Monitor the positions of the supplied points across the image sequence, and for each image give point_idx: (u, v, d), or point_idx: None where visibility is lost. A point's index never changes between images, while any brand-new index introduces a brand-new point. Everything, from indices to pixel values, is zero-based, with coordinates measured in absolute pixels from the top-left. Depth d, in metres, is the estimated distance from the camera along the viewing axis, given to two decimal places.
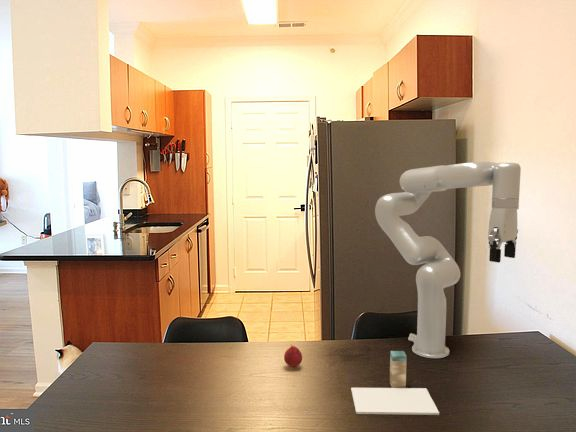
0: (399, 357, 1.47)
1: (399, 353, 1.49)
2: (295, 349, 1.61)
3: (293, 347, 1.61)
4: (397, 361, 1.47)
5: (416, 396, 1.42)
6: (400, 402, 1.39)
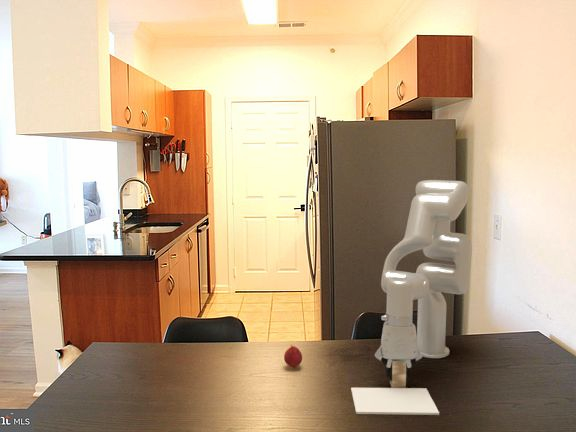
0: None
1: None
2: (295, 349, 1.61)
3: (293, 347, 1.61)
4: (397, 361, 1.47)
5: (416, 396, 1.42)
6: (400, 402, 1.39)
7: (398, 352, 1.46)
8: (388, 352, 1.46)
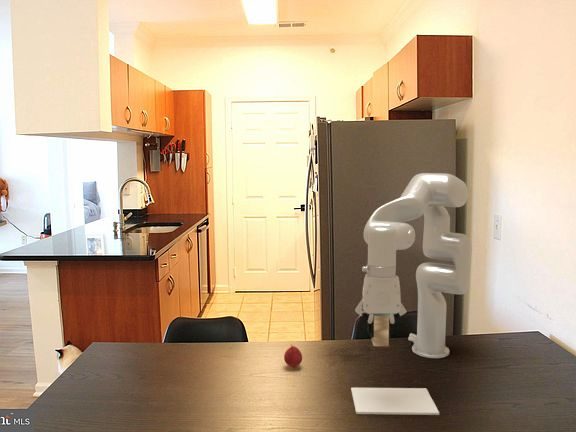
0: None
1: None
2: (295, 349, 1.61)
3: (293, 347, 1.61)
4: (379, 316, 1.35)
5: (416, 396, 1.42)
6: (400, 402, 1.39)
7: (380, 306, 1.34)
8: (369, 306, 1.34)
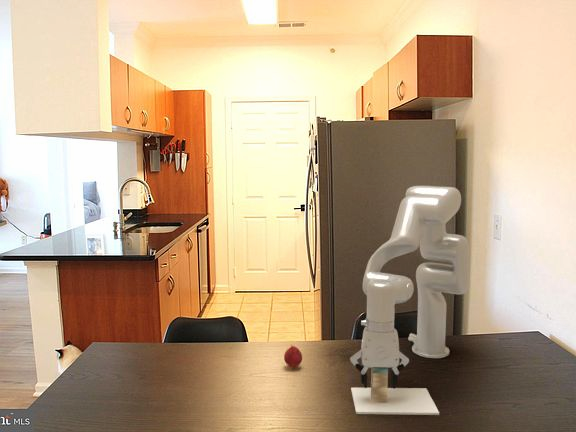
0: (380, 369, 1.37)
1: None
2: (295, 349, 1.61)
3: (293, 347, 1.61)
4: (378, 373, 1.37)
5: (416, 396, 1.42)
6: (400, 402, 1.39)
7: (379, 360, 1.36)
8: (368, 360, 1.36)
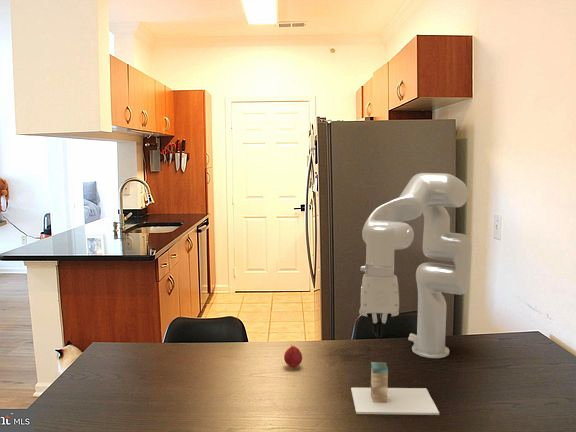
0: (380, 369, 1.37)
1: (381, 365, 1.39)
2: (295, 349, 1.61)
3: (293, 347, 1.61)
4: (378, 373, 1.37)
5: (416, 396, 1.42)
6: (400, 402, 1.39)
7: (378, 305, 1.34)
8: (367, 305, 1.34)
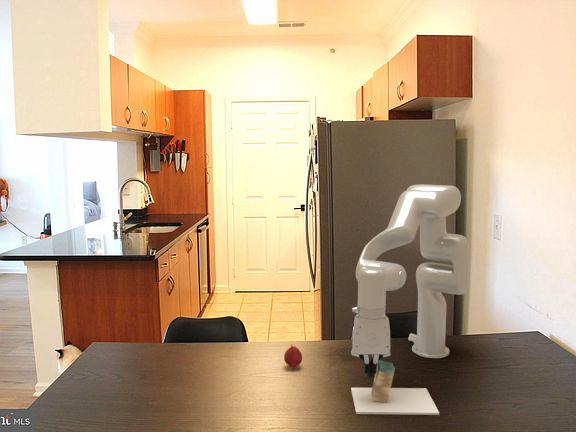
0: (387, 368, 1.37)
1: (388, 364, 1.39)
2: (295, 349, 1.61)
3: (293, 347, 1.61)
4: (384, 372, 1.37)
5: (416, 396, 1.42)
6: (400, 402, 1.39)
7: (370, 347, 1.36)
8: (359, 347, 1.36)
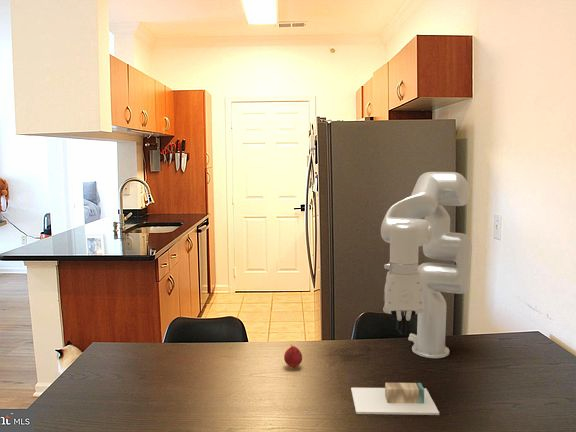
0: (423, 396, 1.38)
1: None
2: (295, 349, 1.61)
3: (293, 347, 1.61)
4: (418, 394, 1.38)
5: None
6: None
7: (403, 303, 1.34)
8: (392, 303, 1.34)
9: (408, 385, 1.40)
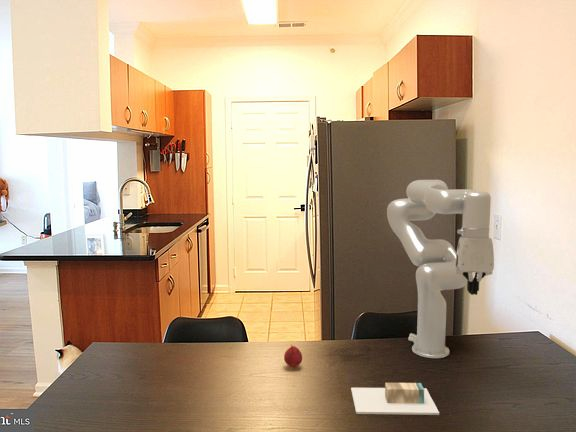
0: (423, 396, 1.38)
1: None
2: (295, 349, 1.61)
3: (293, 347, 1.61)
4: (418, 394, 1.38)
5: None
6: None
7: (475, 265, 1.47)
8: (465, 265, 1.47)
9: (408, 385, 1.40)
